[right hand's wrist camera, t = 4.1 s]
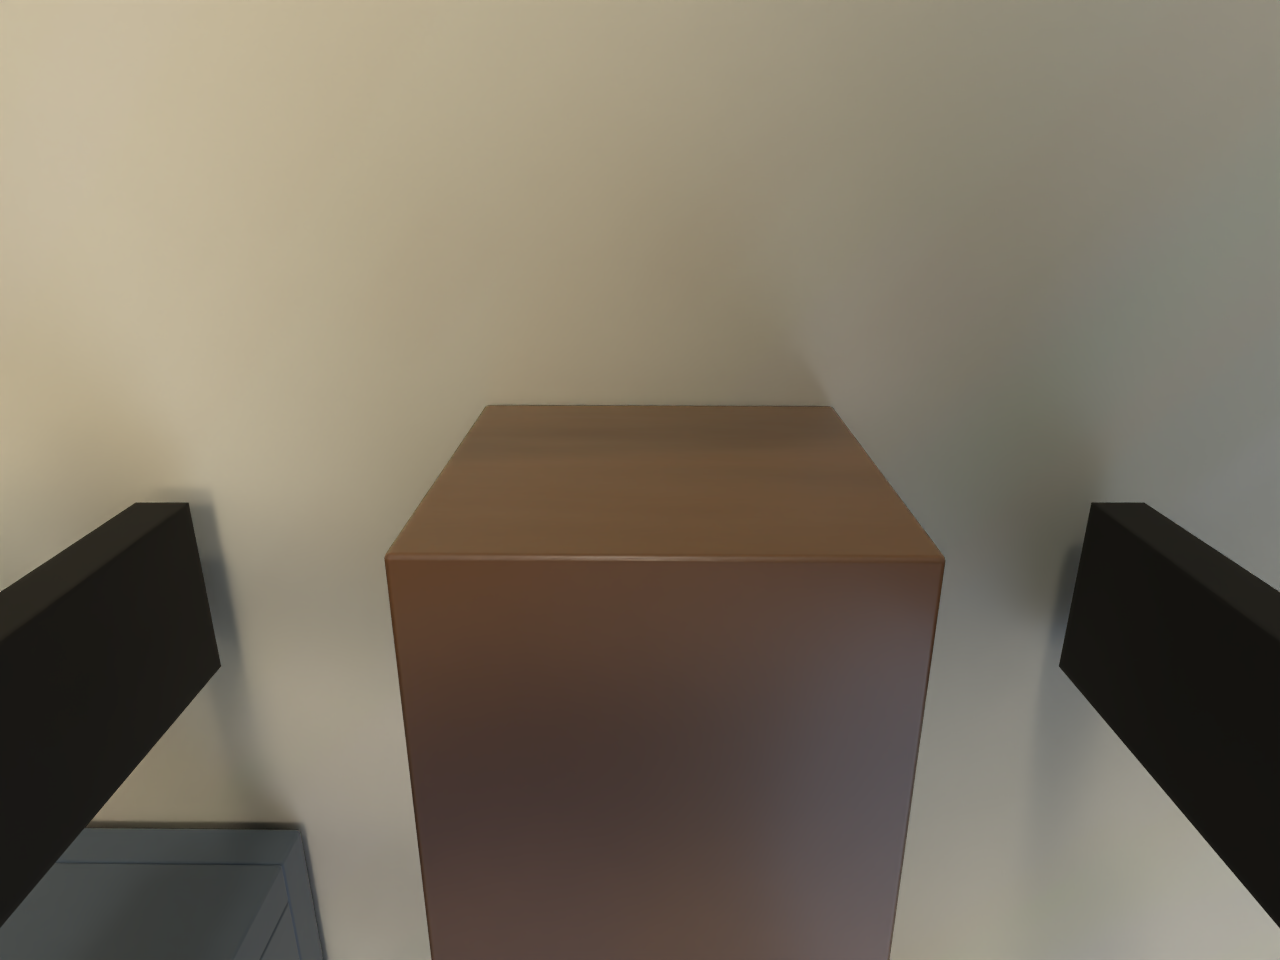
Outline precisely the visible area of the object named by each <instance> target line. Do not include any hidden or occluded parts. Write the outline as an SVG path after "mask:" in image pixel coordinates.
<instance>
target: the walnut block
mask: <svg viewBox="0 0 1280 960" xmlns="http://www.w3.org/2000/svg"><path fill="white" fill-rule="evenodd" d="M384 559H385V567H386V576H387V584H388V593H389V601H390V610H391V618H392V627H393V635H394V644H395V652H396V661H397V669H398V678H399V686H400V695H401V703H402V712H403V720H404V729H405V737H406V746H407V754H408V763H409V771H410V780H411V789H412V797H413V806H414V814H415V823H416V831H417V840H418V848H419V857H420V865H421V874H422V882H423V891H424V899H425V908H426V916H427V925H428V933H429V942H430V950H431V959H432V960H889V958H890V951H891V944H892V937H893V930H894V923H895V916H896V909H897V901H898V894H899V887H900V880H901V873H902V866H903V859H904V852H905V844H906V837H907V830H908V823H909V816H910V809H911V802H912V795H913V788H914V780H915V773H916V766H917V759H918V752H919V745H920V738H921V731H922V723H923V716H924V709H925V702H926V695H927V688H928V681H929V674H930V666H931V659H932V652H933V645H934V638H935V631H936V624H937V617H938V609H939V602H940V595H941V588H942V581H943V574H944V567H945V558H944V556H943V555H942V553H941V552H940V551H939V549H938V548H937V547H936V545H935V544H934V543H933V541H932V540H931V539H930V537H929V536H928V534H927V533H926V532H925V530H924V529H923V528H922V526H921V525H920V524H919V522H918V521H917V520H916V518H915V517H914V516H913V514H912V513H911V512H910V510H909V509H908V508H907V506H906V505H905V504H904V502H903V501H902V500H901V498H900V497H899V496H898V494H897V493H896V492H895V490H894V489H893V488H892V486H891V485H890V484H889V482H888V481H887V480H886V478H885V477H884V476H883V474H882V473H881V472H880V470H879V469H878V468H877V466H876V465H875V464H874V462H873V461H872V460H871V458H870V457H869V456H868V454H867V453H866V452H865V450H864V449H863V448H862V446H861V445H860V444H859V442H858V441H857V440H856V438H855V437H854V436H853V434H852V433H851V432H850V430H849V429H848V428H847V426H846V425H845V424H844V422H843V421H842V420H841V418H840V417H839V416H838V414H837V413H836V412H835V410H834V409H833V408H832V407H819V406H491V405H489V406H486V407H485V409H484V410H483V411H482V413H481V414H480V416H479V417H478V419H477V420H476V422H475V423H474V425H473V426H472V428H471V429H470V431H469V432H468V434H467V435H466V436H465V438H464V439H463V441H462V442H461V444H460V445H459V447H458V448H457V450H456V451H455V453H454V454H453V456H452V457H451V459H450V460H449V462H448V463H447V464H446V466H445V467H444V469H443V470H442V472H441V473H440V475H439V476H438V478H437V479H436V481H435V482H434V484H433V485H432V487H431V488H430V489H429V491H428V492H427V494H426V495H425V497H424V498H423V500H422V501H421V503H420V504H419V506H418V507H417V509H416V510H415V512H414V513H413V515H412V516H411V517H410V519H409V520H408V522H407V523H406V525H405V526H404V528H403V529H402V531H401V532H400V534H399V535H398V537H397V538H396V540H395V541H394V542H393V544H392V545H391V547H390V548H389V550H388V551H387V553H386V555H385V558H384Z"/></svg>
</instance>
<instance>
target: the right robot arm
mask: <svg viewBox="0 0 1280 960" xmlns="http://www.w3.org/2000/svg"><path fill="white" fill-rule="evenodd" d="M220 667H221V664H220V659H219V654H218V649H217V644H216V639H215V634H214V629H213V623H212V618H211V613H210V608H209V603H208V598H207V593H206V588H205V583H204V578H203V573H202V568H201V563H200V558H199V553H198V548H197V543H196V538H195V533H194V528H193V523H192V518H191V513H190V508H189V503H135V504H133V505H132V506H130V507H128V508H127V509H125V510H124V511H122V512H121V513H119V514H118V515H116V516H115V517H113V518H112V519H110V520H109V521H107V522H106V523H104V524H103V525H101V526H100V527H98V528H97V529H95V530H94V531H92V532H91V533H89V534H88V535H86V536H85V537H83V538H82V539H80V540H79V541H77V542H76V543H74V544H73V545H71V546H69V547H68V548H66V549H65V550H63V551H62V552H60V553H59V554H57V555H56V556H54V557H53V558H51V559H50V560H48V561H47V562H45V563H44V564H42V565H41V566H39V567H38V568H36V569H35V570H33V571H32V572H30V573H29V574H27V575H26V576H24V577H23V578H21V579H20V580H18V581H17V582H15V583H13V584H12V585H10V586H9V587H7V588H6V589H4V590H3V591H1V592H0V928H1V926H2V925H3V924H4V923H5V922H6V921H7V919H8V918H9V917H10V916H11V915H12V913H13V912H14V911H15V910H16V909H17V908H18V906H19V905H20V904H21V903H22V902H23V900H24V899H25V898H26V897H27V896H28V894H29V893H30V892H31V891H32V890H33V889H34V887H35V886H36V885H37V884H38V883H39V881H40V880H41V879H42V878H43V877H44V876H45V874H46V873H47V872H48V871H49V870H50V868H51V867H52V866H53V865H54V864H55V862H56V861H57V860H58V859H59V858H60V857H61V855H62V854H63V853H64V852H65V851H66V849H67V848H68V847H69V846H70V845H71V844H72V842H73V841H74V840H75V839H76V838H77V836H78V835H79V834H80V833H81V832H82V830H83V829H84V828H85V827H86V826H87V825H88V823H89V822H90V821H91V820H92V819H93V817H94V816H95V815H96V814H97V813H98V812H99V810H100V809H101V808H102V807H103V806H104V804H105V803H106V802H107V801H108V800H109V798H110V797H111V796H112V795H113V794H114V793H115V791H116V790H117V789H118V788H119V787H120V785H121V784H122V783H123V782H124V781H125V779H126V778H127V777H128V776H129V775H130V774H131V772H132V771H133V770H134V769H135V768H136V766H137V765H138V764H139V763H140V762H141V761H142V759H143V758H144V757H145V756H146V755H147V753H148V752H149V751H150V750H151V749H152V747H153V746H154V745H155V744H156V743H157V742H158V740H159V739H160V738H161V737H162V736H163V734H164V733H165V732H166V731H167V730H168V729H169V727H170V726H171V725H172V724H173V723H174V721H175V720H176V719H177V718H178V717H179V715H180V714H181V713H182V712H183V711H184V710H185V708H186V707H187V706H188V705H189V704H190V702H191V701H192V700H193V699H194V698H195V697H196V695H197V694H198V693H199V692H200V691H201V689H202V688H203V687H204V686H205V685H206V683H207V682H208V681H209V680H210V679H211V678H212V676H213V675H214V674H215V673H216V672H217V670H218V669H219V668H220ZM1059 667H1060V668H1061V669H1062V670H1063V672H1064V673H1065V674H1066V675H1067V676H1068V678H1069V679H1070V680H1071V681H1072V682H1073V683H1074V685H1075V686H1076V687H1077V688H1078V689H1079V691H1080V692H1081V693H1082V694H1083V695H1084V697H1085V698H1086V699H1087V700H1088V701H1089V702H1090V704H1091V705H1092V706H1093V707H1094V708H1095V710H1096V711H1097V712H1098V713H1099V714H1100V715H1101V717H1102V718H1103V719H1104V720H1105V721H1106V723H1107V724H1108V725H1109V726H1110V727H1111V729H1112V730H1113V731H1114V732H1115V733H1116V734H1117V736H1118V737H1119V738H1120V739H1121V740H1122V742H1123V743H1124V744H1125V745H1126V746H1127V747H1128V749H1129V750H1130V751H1131V752H1132V753H1133V755H1134V756H1135V757H1136V758H1137V759H1138V761H1139V762H1140V763H1141V764H1142V765H1143V766H1144V768H1145V769H1146V770H1147V771H1148V772H1149V774H1150V775H1151V776H1152V777H1153V778H1154V779H1155V781H1156V782H1157V783H1158V784H1159V785H1160V787H1161V788H1162V789H1163V790H1164V791H1165V793H1166V794H1167V795H1168V796H1169V797H1170V798H1171V800H1172V801H1173V802H1174V803H1175V804H1176V806H1177V807H1178V808H1179V809H1180V810H1181V812H1182V813H1183V814H1184V815H1185V816H1186V817H1187V819H1188V820H1189V821H1190V822H1191V823H1192V825H1193V826H1194V827H1195V828H1196V829H1197V830H1198V832H1199V833H1200V834H1201V835H1202V836H1203V838H1204V839H1205V840H1206V841H1207V842H1208V844H1209V845H1210V846H1211V847H1212V848H1213V849H1214V851H1215V852H1216V853H1217V854H1218V855H1219V857H1220V858H1221V859H1222V860H1223V861H1224V862H1225V864H1226V865H1227V866H1228V867H1229V868H1230V870H1231V871H1232V872H1233V873H1234V874H1235V876H1236V877H1237V878H1238V879H1239V880H1240V881H1241V883H1242V884H1243V885H1244V886H1245V887H1246V889H1247V890H1248V891H1249V892H1250V893H1251V894H1252V896H1253V897H1254V898H1255V899H1256V900H1257V902H1258V903H1259V904H1260V905H1261V906H1262V908H1263V909H1264V910H1265V911H1266V912H1267V913H1268V915H1269V916H1270V917H1271V918H1272V919H1273V921H1274V922H1275V923H1276V924H1277V925H1278V927H1279V928H1280V592H1279V591H1277V590H1276V589H1274V588H1273V587H1271V586H1270V585H1268V584H1267V583H1265V582H1263V581H1262V580H1260V579H1259V578H1257V577H1256V576H1254V575H1253V574H1251V573H1250V572H1248V571H1247V570H1245V569H1244V568H1242V567H1241V566H1239V565H1238V564H1236V563H1235V562H1233V561H1232V560H1230V559H1229V558H1227V557H1226V556H1224V555H1223V554H1221V553H1220V552H1218V551H1217V550H1215V549H1214V548H1212V547H1211V546H1209V545H1207V544H1206V543H1204V542H1203V541H1201V540H1200V539H1198V538H1197V537H1195V536H1194V535H1192V534H1191V533H1189V532H1188V531H1186V530H1185V529H1183V528H1182V527H1180V526H1179V525H1177V524H1176V523H1174V522H1173V521H1171V520H1170V519H1168V518H1167V517H1165V516H1164V515H1162V514H1161V513H1159V512H1158V511H1156V510H1155V509H1153V508H1151V507H1150V506H1148V505H1147V504H1145V503H1091V508H1090V513H1089V518H1088V523H1087V528H1086V533H1085V538H1084V543H1083V548H1082V553H1081V558H1080V563H1079V568H1078V573H1077V578H1076V583H1075V588H1074V593H1073V598H1072V603H1071V608H1070V613H1069V618H1068V623H1067V629H1066V634H1065V639H1064V644H1063V649H1062V654H1061V659H1060V664H1059Z"/></svg>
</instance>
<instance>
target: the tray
mask: <svg viewBox="0 0 1280 960" xmlns="http://www.w3.org/2000/svg"><path fill="white" fill-rule="evenodd" d="M0 960H323V955H322V949H321V944H320V938H319V933H318V927H317V922H316V916H315V910H314V905H313V899H312V894H311V888H310V883H309V877H308V872H307V866H306V861H305V855H304V849H303V844H302V838H301V833H300V831H299V830H259V829H155V828H84V829H83V830H82V832H81V833H80V834H79V835H78V836H77V838H76V839H75V840H74V841H73V842H72V844H71V845H70V846H69V847H68V848H67V849H66V851H65V852H64V853H63V854H62V855H61V857H60V858H59V859H58V860H57V861H56V862H55V864H54V865H53V866H52V867H51V868H50V870H49V871H48V872H47V873H46V874H45V876H44V877H43V878H42V879H41V880H40V881H39V883H38V884H37V885H36V886H35V887H34V889H33V890H32V891H31V892H30V893H29V894H28V896H27V897H26V898H25V899H24V900H23V902H22V903H21V904H20V905H19V906H18V908H17V909H16V910H15V911H14V912H13V913H12V915H11V916H10V917H9V918H8V919H7V921H6V922H5V923H4V924H3V925H2V926H1V928H0Z"/></svg>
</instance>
